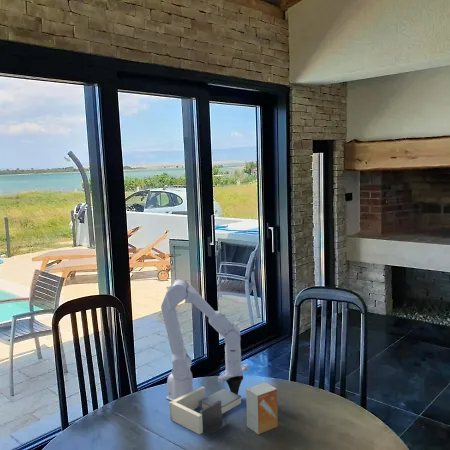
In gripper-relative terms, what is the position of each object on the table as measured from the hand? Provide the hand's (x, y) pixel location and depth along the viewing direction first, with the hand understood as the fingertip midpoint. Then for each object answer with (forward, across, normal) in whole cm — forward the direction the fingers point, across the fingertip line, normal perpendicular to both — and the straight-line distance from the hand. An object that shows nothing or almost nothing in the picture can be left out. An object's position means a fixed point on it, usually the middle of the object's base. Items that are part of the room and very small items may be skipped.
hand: (234, 394), depth 170 cm
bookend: (+1, -19, -8) cm, 21 cm away
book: (+2, -7, 0) cm, 7 cm away
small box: (+1, -9, -20) cm, 22 cm away
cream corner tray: (+1, -17, 0) cm, 17 cm away
